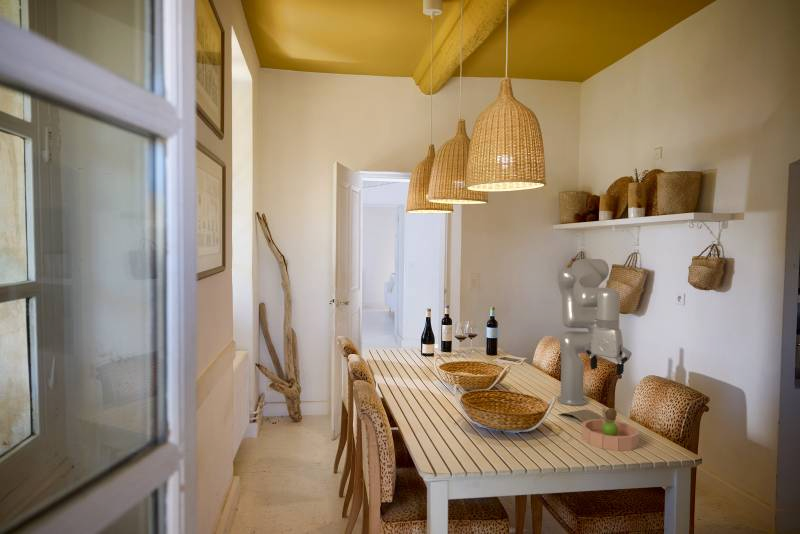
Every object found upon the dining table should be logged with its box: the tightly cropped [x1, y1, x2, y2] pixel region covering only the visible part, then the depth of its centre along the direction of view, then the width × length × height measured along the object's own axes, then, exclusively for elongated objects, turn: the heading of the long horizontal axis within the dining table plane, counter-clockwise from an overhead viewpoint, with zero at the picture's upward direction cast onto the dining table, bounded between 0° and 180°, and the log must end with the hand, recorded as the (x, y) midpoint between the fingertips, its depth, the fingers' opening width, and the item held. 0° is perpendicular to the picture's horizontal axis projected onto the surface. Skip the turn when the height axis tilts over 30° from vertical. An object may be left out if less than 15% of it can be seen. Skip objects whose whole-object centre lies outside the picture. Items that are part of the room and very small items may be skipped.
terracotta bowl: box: [581, 419, 640, 452], centre depth 177 cm, size 18×18×4 cm
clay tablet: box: [558, 408, 604, 423], centre depth 201 cm, size 16×11×3 cm
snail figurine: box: [601, 403, 618, 436], centre depth 178 cm, size 5×6×12 cm
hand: (606, 371), depth 180 cm, fingers open, 9 cm apart
